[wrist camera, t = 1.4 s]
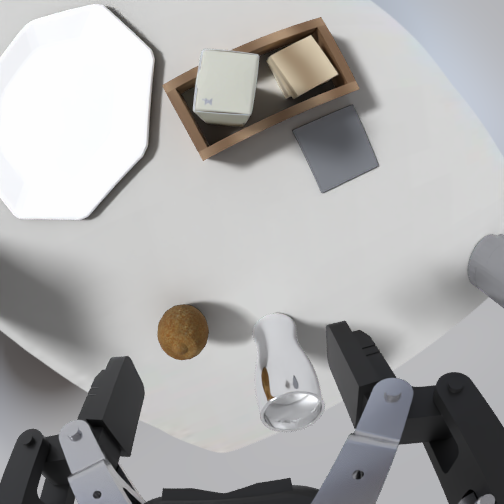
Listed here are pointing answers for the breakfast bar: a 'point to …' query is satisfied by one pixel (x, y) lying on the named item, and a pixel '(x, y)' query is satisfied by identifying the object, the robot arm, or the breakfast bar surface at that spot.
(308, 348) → the breakfast bar surface
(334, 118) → the mat
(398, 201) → the breakfast bar surface
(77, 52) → the plate
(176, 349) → the fruit
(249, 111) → the box
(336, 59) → the wooden tray
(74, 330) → the breakfast bar surface
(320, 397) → the beer glass
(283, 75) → the offcut
